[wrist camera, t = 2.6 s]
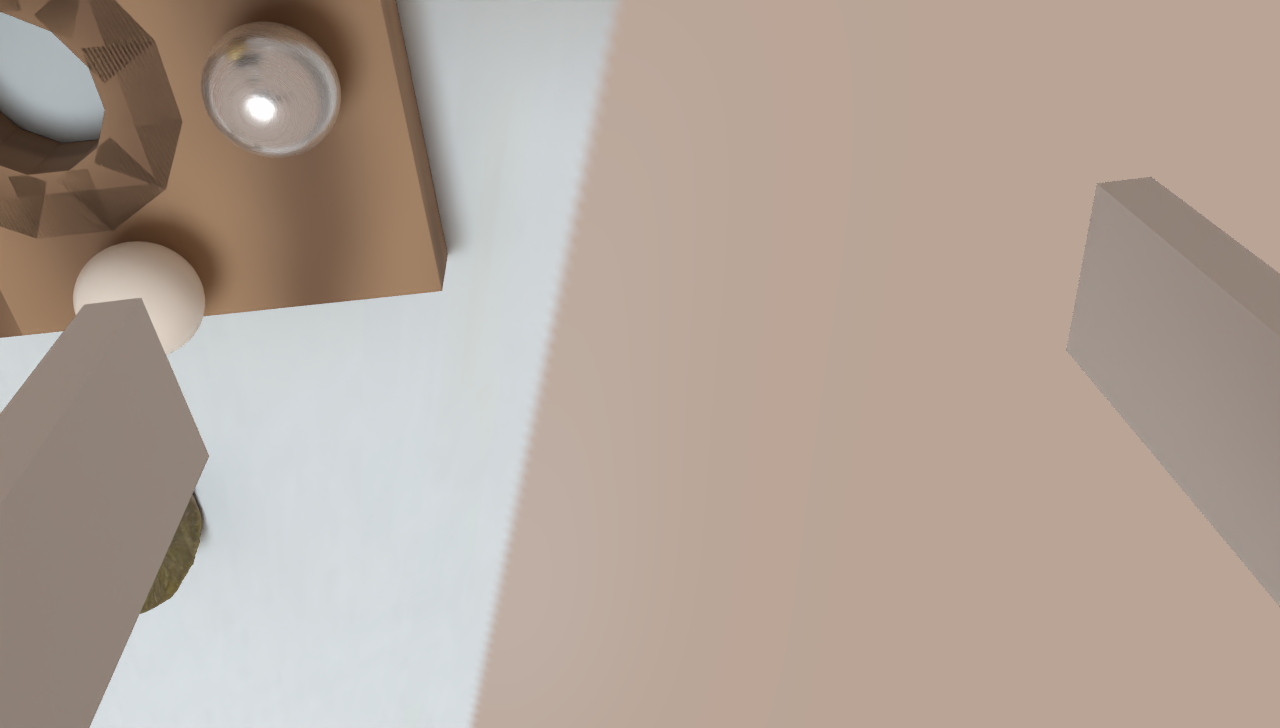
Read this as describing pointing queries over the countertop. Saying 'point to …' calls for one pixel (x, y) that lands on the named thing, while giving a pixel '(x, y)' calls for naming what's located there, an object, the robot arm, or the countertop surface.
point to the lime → (176, 558)
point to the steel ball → (270, 89)
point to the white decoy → (146, 287)
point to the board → (220, 167)
